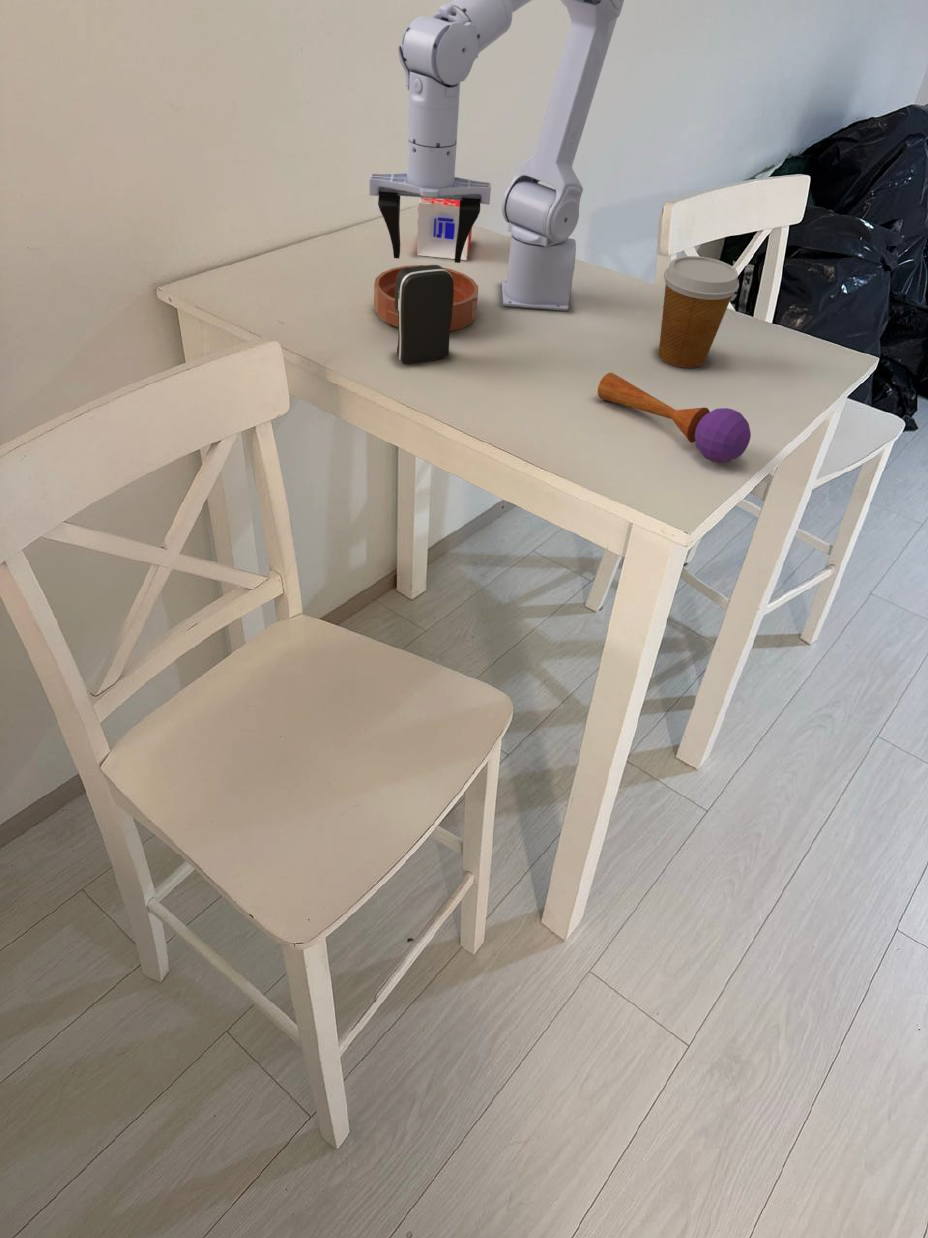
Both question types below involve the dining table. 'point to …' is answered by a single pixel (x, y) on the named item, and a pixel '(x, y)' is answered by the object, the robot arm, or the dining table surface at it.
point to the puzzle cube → (439, 228)
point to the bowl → (462, 298)
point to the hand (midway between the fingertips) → (427, 257)
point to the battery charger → (423, 312)
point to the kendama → (687, 420)
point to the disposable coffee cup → (694, 308)
